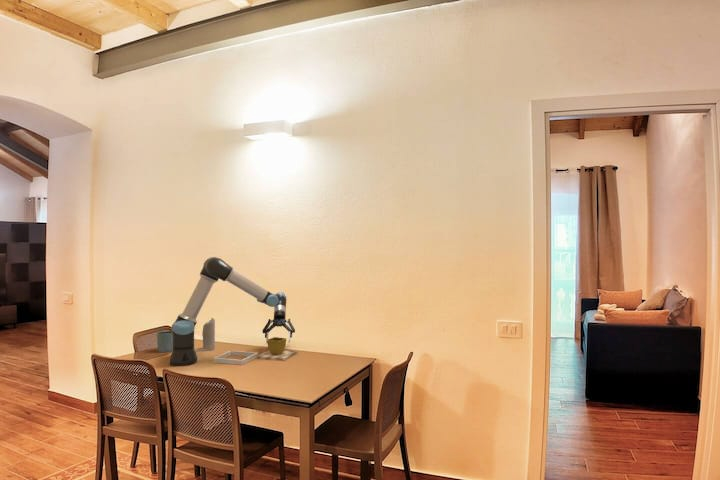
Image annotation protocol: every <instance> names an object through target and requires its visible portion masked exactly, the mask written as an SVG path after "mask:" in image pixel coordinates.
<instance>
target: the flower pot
mask: <svg viewBox="0 0 720 480" xmlns="http://www.w3.org/2000/svg"><path fill="white" fill-rule="evenodd" d="M266 344H267V348H268V350H269V351H270V353H271V354H277V355H278V354H281V353H282V352H283V351H284V350H285V348H286V345H287V338H286V337H278V336H276V337H275V336H274V337H270V338H268V340H267V343H266Z"/></svg>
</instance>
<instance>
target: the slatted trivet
mask: <svg viewBox="0 0 720 480" xmlns="http://www.w3.org/2000/svg"><path fill="white" fill-rule="evenodd" d="M297 352H298V351H297V350H287V349H286V350H285V349H284V351H283V352H282V353H281V354H278V355H277V354H271V353H270V351H269V349H268V350H267V351H264V352H262V353H260V354H258V356H257V358H256V359H257V360H270V361H287V360H288V359H290V358H291V357H293V356H295V355H297Z"/></svg>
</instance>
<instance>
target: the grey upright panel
mask: <svg viewBox="0 0 720 480" xmlns="http://www.w3.org/2000/svg"><path fill="white" fill-rule="evenodd" d="M215 321H216V319H215V318H213V317H211V319H209V320H208V322H207V321H206V322H205V324H203V325H202V333H201V334H202V347H200V348H199V347H198V348H194V349H195V352H196V351H197V352H200V351H201V352H202V351H203V352H204V351H206V352H207V351H213V350H215V348H216V347H215V346H216V345H215V343H216V342H215V341H216V339H215V338H216V336H215V335H216V333H215V332H216V329H215V328H216V325H215V324H216V322H215Z"/></svg>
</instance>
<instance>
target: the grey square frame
mask: <svg viewBox="0 0 720 480" xmlns="http://www.w3.org/2000/svg"><path fill="white" fill-rule="evenodd" d="M258 355H259V352H251V351H242V350H241V351H240V350H229V351H226V352H224V353H222V354H220V355H217V356H215V357H213V358H212V363H214V364H227V365H239V366H242V365H245V364H247V363H249V362H251V361H252V360H255V359H257V356H258ZM230 356H238V357H239V356H240V357H245V358H243V359H234V358H229V357H230Z"/></svg>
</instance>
